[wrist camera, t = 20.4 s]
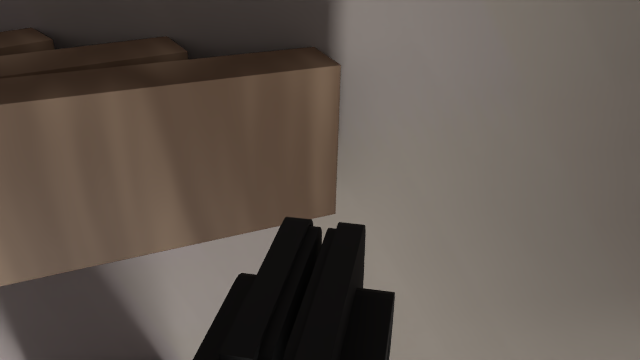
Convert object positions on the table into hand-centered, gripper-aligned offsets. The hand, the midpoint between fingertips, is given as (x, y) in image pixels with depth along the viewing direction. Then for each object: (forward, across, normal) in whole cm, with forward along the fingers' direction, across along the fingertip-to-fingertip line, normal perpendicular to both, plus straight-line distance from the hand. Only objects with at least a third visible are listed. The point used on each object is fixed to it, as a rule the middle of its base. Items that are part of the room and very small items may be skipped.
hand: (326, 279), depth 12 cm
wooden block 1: (+7, +1, 0) cm, 7 cm away
